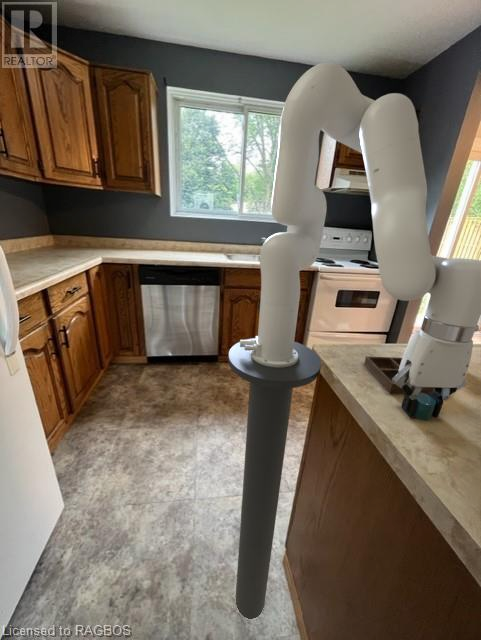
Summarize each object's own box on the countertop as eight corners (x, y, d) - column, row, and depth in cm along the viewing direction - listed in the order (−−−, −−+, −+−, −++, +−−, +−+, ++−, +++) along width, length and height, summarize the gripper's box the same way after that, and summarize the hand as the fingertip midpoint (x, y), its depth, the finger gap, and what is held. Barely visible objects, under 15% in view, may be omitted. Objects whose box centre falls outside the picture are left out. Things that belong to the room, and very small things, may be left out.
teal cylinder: (414, 420, 53) (420, 404, 52) (402, 406, 57) (406, 391, 56) (435, 420, 53) (441, 405, 52) (422, 406, 57) (426, 392, 56)
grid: (389, 393, 61) (392, 384, 60) (364, 364, 73) (365, 356, 72) (445, 395, 61) (449, 385, 60) (411, 366, 74) (413, 358, 73)
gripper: (474, 323, 52) (445, 402, 59) (389, 320, 52) (369, 399, 58) (511, 339, 45) (474, 426, 52) (413, 336, 45) (387, 424, 51)
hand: (419, 411), depth 55 cm, fingers closed on teal cylinder, 4 cm apart
